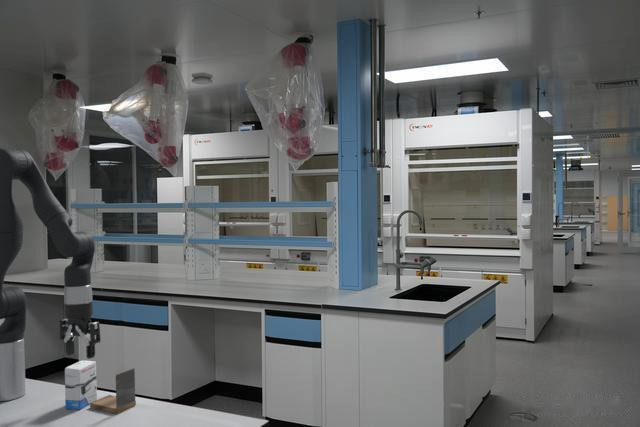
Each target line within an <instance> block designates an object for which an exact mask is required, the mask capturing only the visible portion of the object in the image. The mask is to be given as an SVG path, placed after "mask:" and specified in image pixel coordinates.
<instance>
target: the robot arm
mask: <svg viewBox="0 0 640 427" xmlns="http://www.w3.org/2000/svg"><path fill="white" fill-rule="evenodd" d="M13 180H15V181H17V180H19V181H20V182H21V183H22V184H23V185H24V186H25V187H26V188H27V190H28V191H29V192H30V195H31V200H32V207H33V210H34V212H35V214H36V216H37V217H38V219H39V220H40V221H41V222H42V224H43V225H44V227H45V228H46V229H47V230H48V232H49V233H50V236H51V239H52V241H53V244H54V246H55V248H56V250H57V251H58V252H59V253H60V254H61V255H63V256H64V257H66V258H71V259H72V260H71V263H70V264H69V265H67V266H66V267H65V269H64V270H63V271H64V272H63V276H64V278H63V279H64V293H63V304H64V318H63V319H59V340H60V341H63V342H64V343H65V354H66V356H72V355H74V354H75V341H74V339H75V338H76V336H77V337H80V338H81V340H84V342H85V344H86V348H85V349H86V359H92V358H95V355H96V344H98V343H101V341H102V340H101V328H100V322H99V321H94V322H92V319H91V318H92V316H93V314H94V307H93V306H94V304H93V289H92V279H91V278H92V277H91V276H92V274H91V273H92V272H91V269H92V265H93V261H94V256H95V250H96V249H95V247H96V245H95V240H94V237H93V236H92V235H91V234H90V233H89V232H87V231H73V230H72V229H71V227H72V225H73V218H72V217H71V215H70V214H69V213H68V211H67V210H66V209H65V208H64V206H63V205H62V204H61V203H60V201H59V199H58V198H57V197H56V195H54V193H53V191H52V189H51V188H50V186H49V185H48V183H47V181H46V180H45V178H44V175H43V174H42V173H41V171H40V168H39V167H38V164H37V163H36V161H35V159H34V158H33V156H32V155H31V154H30V153H29V152H28V151H27V150H25V149H21V148H20V149H19V148H9V147H7V148H6V147H0V320H3V319H4V320H3V322H2V323H1V324H0V402H4V401H5V402H7V401H11V400H16V399H19V398H21V397H23V396H24V395H26V364H25V361H26V360H25V359H26V358H25V357H26V356H25V332H26V326H27V325H26V324H27V322H26V321H27V318H26V317H27V299H26V298H27V297H26V294H25V292H24V289H22V288H21V287H20V286H16V285H13V286H6V287H4V281H5V278H6V274H7V272H8V270H9V269H10V267H11V266H12V264H13V263H14V261H15V259H16V258H17V256H18V255H19V253H20V251H21V249H22V248H23V247H22V246H23V243H24V242H23V241H24V222H23V221H24V220H23V219H22V216H21V215H20V212H19V210H18V209H17V207H16V204H15V203H14V200H13Z"/></svg>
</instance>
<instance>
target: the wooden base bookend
mask: <svg viewBox="0 0 640 427" xmlns="http://www.w3.org/2000/svg"><path fill="white" fill-rule="evenodd" d="M135 375H136V372H135V367H132V368H129V369H127V370H125V371H122V372H120V373H117V374H115V395H112V394H108V395H105V396H103V397H101V398H97V400H95V401H93V402H91V403H90V404H89V408H90V409H91V410H97V411H102V412H106V413H110V414H114V415H118V414H121V413H123V412H125V411H127V410H130V409H131V408H134V407H136V406H137V400H136V377H135ZM135 405H136V406H135Z"/></svg>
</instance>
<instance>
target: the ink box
mask: <svg viewBox="0 0 640 427" xmlns="http://www.w3.org/2000/svg"><path fill="white" fill-rule="evenodd" d="M97 382H98V381H97V361H94V360H85V359H84V360H80V361H77V362H75V363H73V364H71V365H68V366H67V367H65V368H64V393H65V394H64V396H65V403H64V404H65V409H66V410H78V411H79V410H82V409H84V408H86V407H87V406H90V403H91V402H93V401H96V400H98V394H97V393H98V390H97V387H98V386H97Z"/></svg>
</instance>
